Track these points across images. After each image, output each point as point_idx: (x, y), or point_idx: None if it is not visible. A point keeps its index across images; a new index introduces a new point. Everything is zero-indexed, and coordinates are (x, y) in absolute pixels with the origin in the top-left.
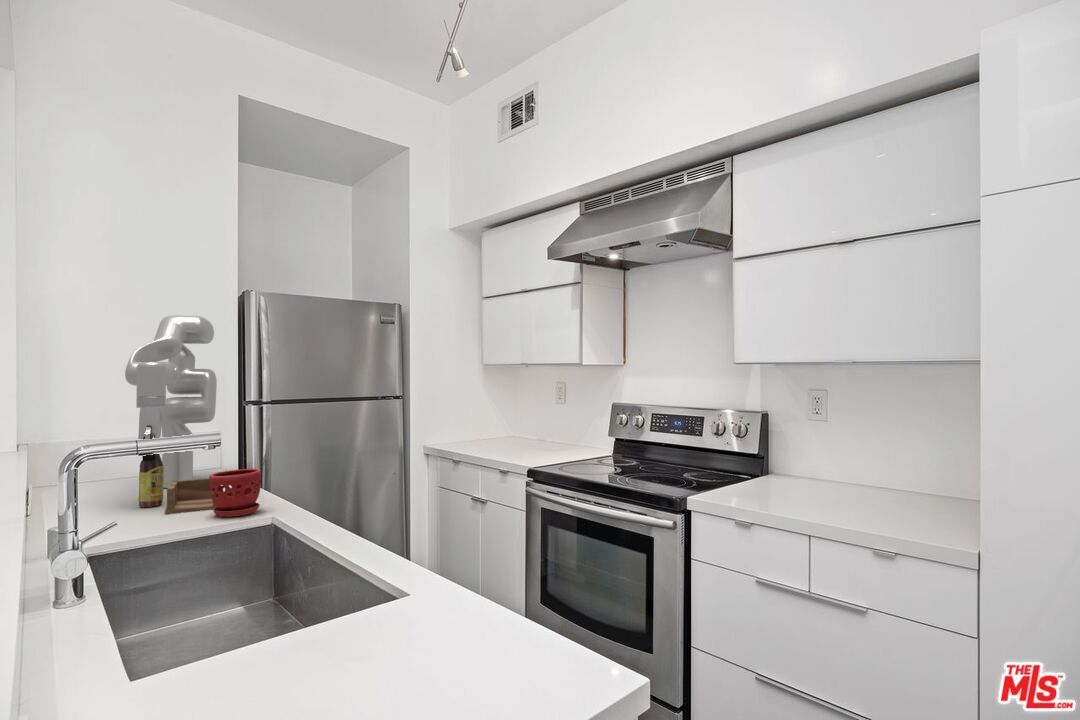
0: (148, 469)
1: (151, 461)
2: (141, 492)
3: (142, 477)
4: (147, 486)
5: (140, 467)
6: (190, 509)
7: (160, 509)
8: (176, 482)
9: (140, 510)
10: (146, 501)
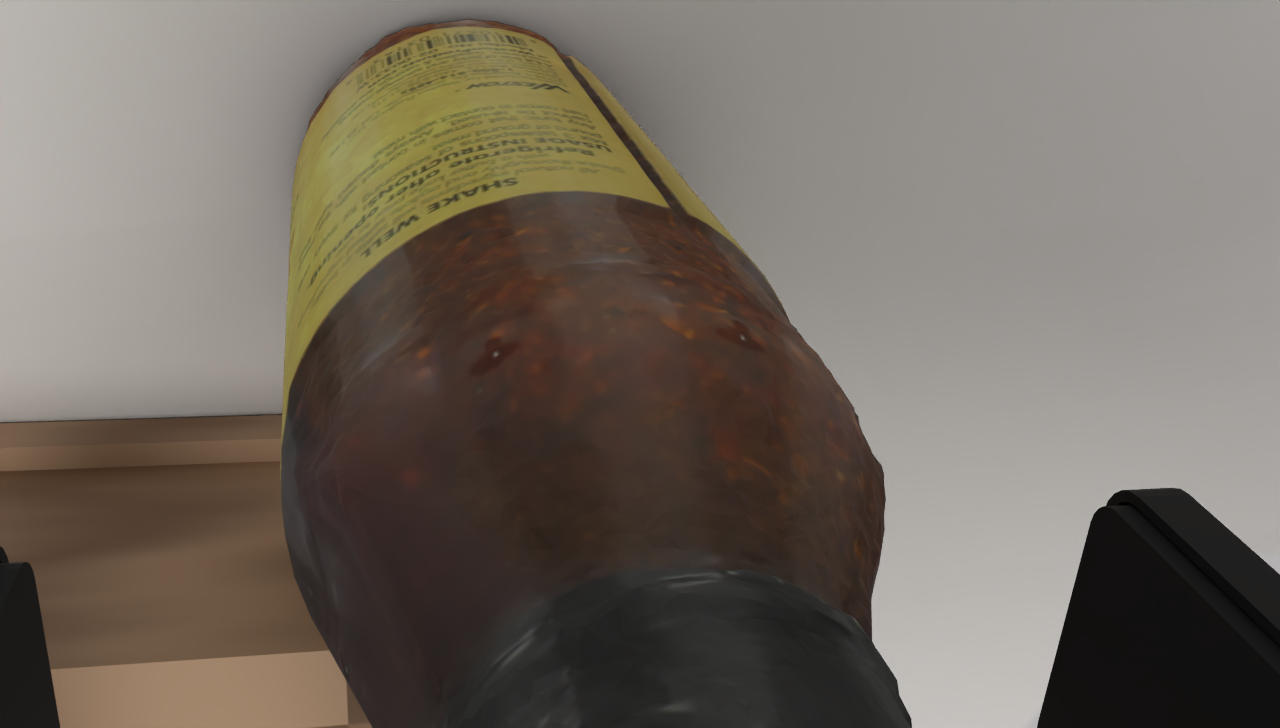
0: (290, 464)
1: (364, 649)
2: (344, 123)
3: (340, 243)
4: (291, 269)
5: (459, 281)
6: None
7: (102, 330)
8: (270, 723)
9: (159, 61)
10: (297, 161)
